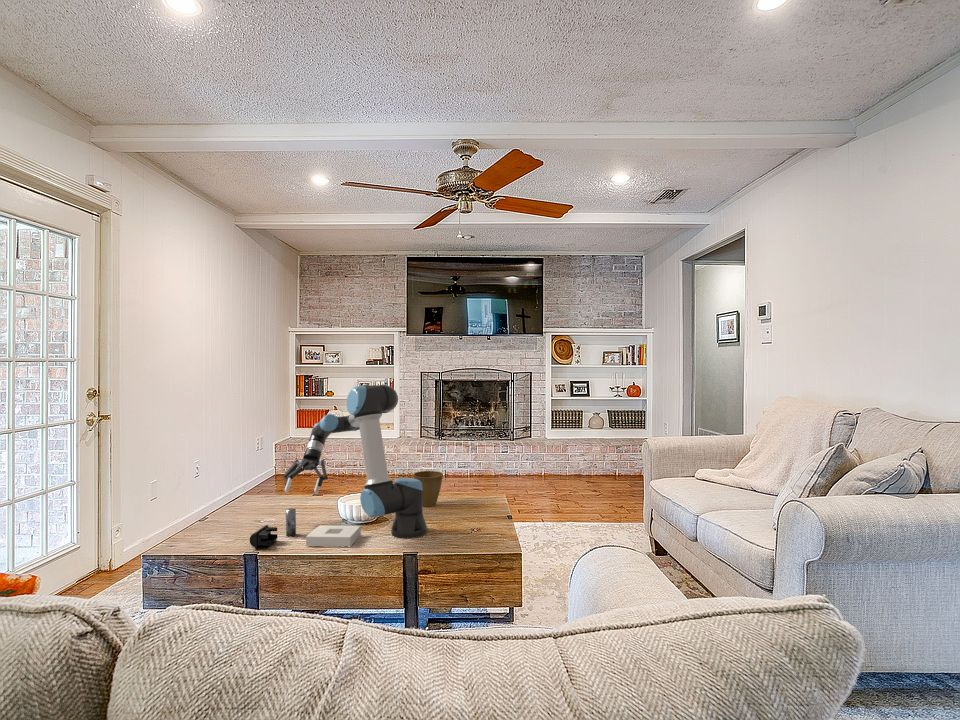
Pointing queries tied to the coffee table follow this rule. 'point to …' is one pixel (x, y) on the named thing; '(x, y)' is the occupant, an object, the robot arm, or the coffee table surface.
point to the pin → (290, 522)
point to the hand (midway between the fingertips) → (300, 492)
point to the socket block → (333, 536)
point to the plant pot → (429, 486)
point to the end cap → (263, 538)
